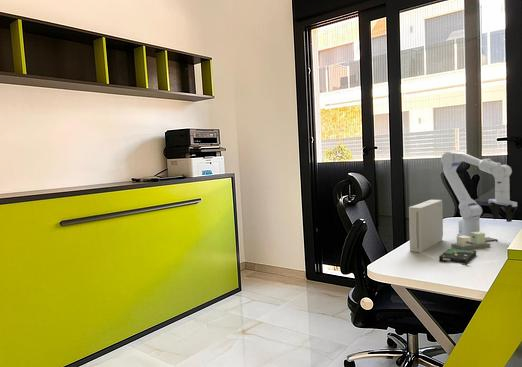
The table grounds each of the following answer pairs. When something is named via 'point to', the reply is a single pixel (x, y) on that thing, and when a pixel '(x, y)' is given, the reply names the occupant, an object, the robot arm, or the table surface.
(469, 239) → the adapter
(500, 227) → the table surface
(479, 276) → the table surface
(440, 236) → the game console
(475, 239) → the block
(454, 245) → the grey double frame
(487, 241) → the phone
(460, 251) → the disk drive
